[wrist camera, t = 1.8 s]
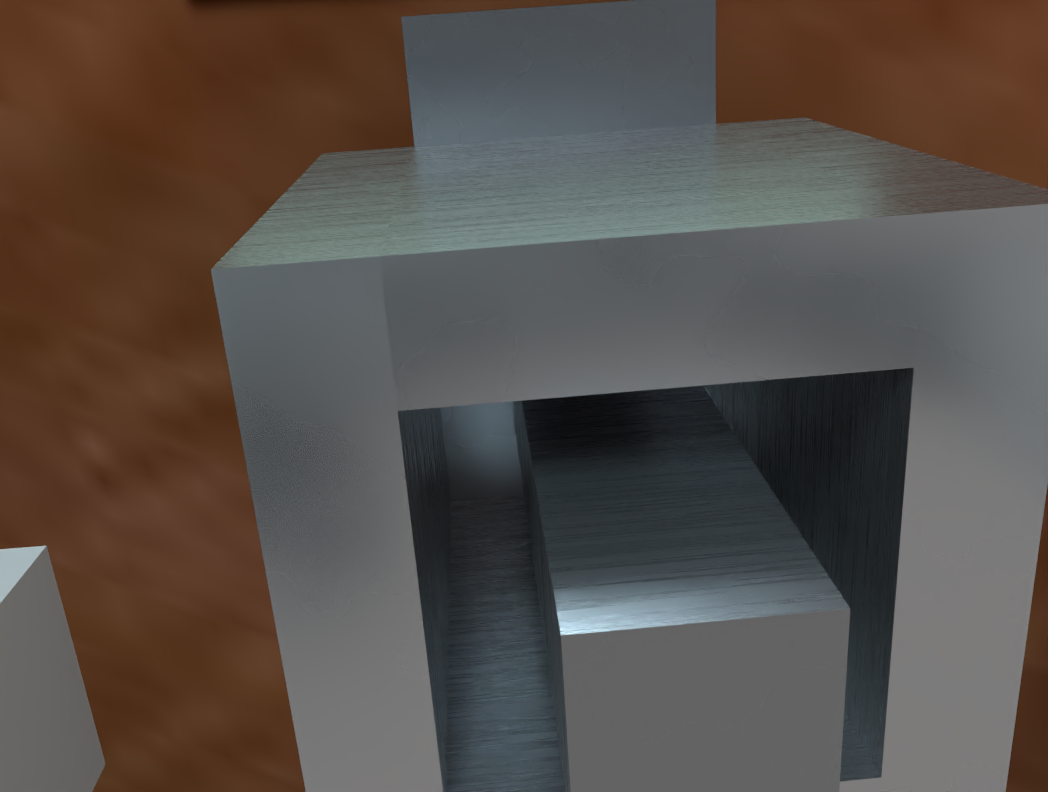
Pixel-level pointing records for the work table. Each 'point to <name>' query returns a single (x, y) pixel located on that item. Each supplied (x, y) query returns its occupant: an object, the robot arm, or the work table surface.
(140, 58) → the work table surface
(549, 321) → the collar
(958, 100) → the work table surface
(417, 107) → the grey block
